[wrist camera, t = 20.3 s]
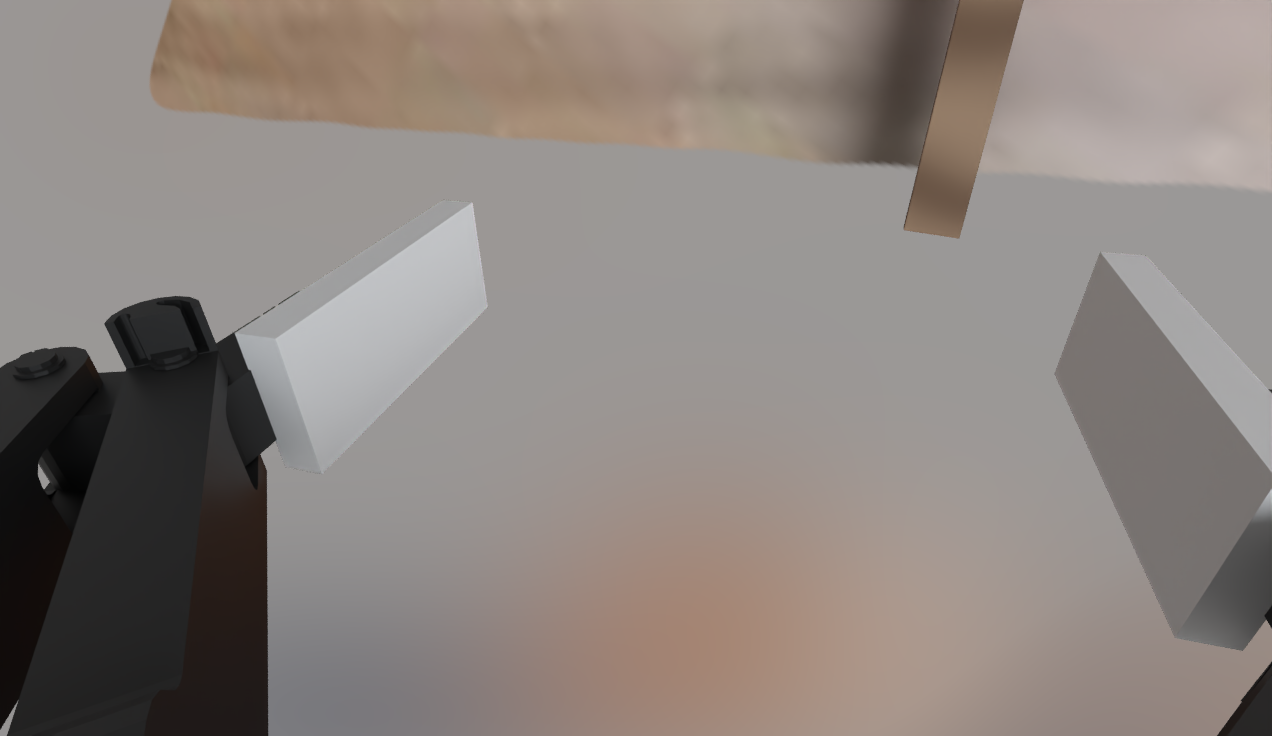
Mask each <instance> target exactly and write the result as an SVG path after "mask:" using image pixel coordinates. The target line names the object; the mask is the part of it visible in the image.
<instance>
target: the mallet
mask: <svg viewBox="0 0 1272 736" xmlns="http://www.w3.org/2000/svg"><path fill="white" fill-rule="evenodd" d="M1023 1H1024V0H959V3H958V7H957V12H956V16H955V20H954V24H953V28H952V32H951V36H950V40H949V44H948V48H947V52H946V56H945V61H944V65H943V69H942V73H941V77H940V81H939V85H938V89H937V93H936V97H935V101H934V105H933V110H932V114H931V118H930V122H929V126H928V130H927V134H926V138H925V142H924V146H923V150H922V154H921V158H920V163H919V167H918V171H917V175H916V179H915V183H914V187H913V191H912V196H911V200H910V203H909V208H908V212H907V216H906V220H905V224H904V230H907V231H913V232H920V233H927V234H933V235H940V236H946V237H953V238H959V237H960V233H961V230H962V226H963V222H964V219H965V215H966V211H967V207H968V204H969V200H970V196H971V193H972V189H973V185H974V182H975V178H976V174H977V171H978V167H979V163H980V160H981V156H982V152H983V149H984V145H985V141H986V137H987V134H988V130H989V126H990V123H991V119H992V115H993V112H994V108H995V104H996V100H997V97H998V93H999V89H1000V86H1001V82H1002V78H1003V75H1004V71H1005V67H1006V64H1007V60H1008V56H1009V52H1010V49H1011V45H1012V41H1013V38H1014V34H1015V30H1016V27H1017V23H1018V19H1019V15H1020V12H1021V8H1022V4H1023Z"/></svg>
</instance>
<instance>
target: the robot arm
mask: <svg viewBox="0 0 1272 736" xmlns="http://www.w3.org/2000/svg"><path fill="white" fill-rule="evenodd" d="M487 307H488V305H487V298H486V292H485V285H484V278H483V271H482V264H481V257H480V250H479V244H478V238H477V230H476V223H475V216H474V210H473V204H472V202H463V201H451V200H442V201H441V202H439V203H437V204H436V205H434V206H433V207H431V208H429V209H428V210H426V211H425V212H423V213H422V214H420V215H419V216H417V217H415V218H414V219H412V220H411V221H409V222H408V223H406V224H405V225H403V226H401V227H400V228H398V229H397V230H395V231H394V232H392V233H390V234H389V235H387V236H386V237H384V238H383V239H381V240H379V241H378V242H376V243H375V244H373V245H372V246H370V247H369V248H367V249H365V250H364V251H362V252H361V253H359V254H358V255H356V256H354V257H353V258H352V259H350V260H348V261H347V262H345V263H344V264H342V265H340V266H339V267H337V268H336V269H334V270H332V271H331V272H329V273H328V274H326V275H325V276H323V277H322V278H320V279H318V280H317V281H315V282H314V283H312V284H311V285H309V286H308V287H306V288H304V289H303V290H301V291H299V292H296V293H295V294H293V295H292V296H290V297H289V298H287V299H285V300H284V301H282V302H281V303H279V304H278V306H276V307H273V308H271V309H270V310H268V311H267V312H265V313H264V314H263V315H262V316H259V317H257V318H256V319H254V320H252V321H251V322H250V323H248V324H246V325H245V326H243V327H242V328H240V329H238V330H237V331H235V332H234V333H232V334H231V335H229V336H227V337H226V338H224V339H223V340H221V341H219V342H218V343H216V342H215V340H214V338H213V335H212V333H211V330H210V328H209V325H208V322H207V320H206V317H205V315H204V312H203V310H202V307H201V305H200V303H199V301H198V300H196V299H193V298H191V297H181V296H173V297H164V298H157V299H153V300H149V301H144V302H140V303H137V304H135V305H132V306H129V307H127V308H124V309H122V310H121V311H119V312H117V313H115V314H114V315H112V316H111V317H110V318H109V319H108V320H107V321H106V322H105V326H106V328H107V330H108V332H109V334H110V336H111V338H112V341H113V343H114V344H115V347H116V349H117V351H118V353H119V355H120V357H121V359H122V361H123V363H124V365H125V367H126V371H125V372H108V373H98V372H97V370H96V368H95V366H94V364H93V362H92V361H91V359H90V357H89V355H88V353H87V352H86V350H84V349H81V348H77V347H59V348H53V349H47V348H44V349H40V350H36V351H35V352H33V353H32V352H29V353H26V354H23V355H21V356H20V357H19V358H18V359H16V360H14V361H12V362H9V363H7V364H5V365H4V366H2V367H1V368H0V729H1V728H2V726H3V724H4V723H5V721H6V719H7V718H8V716H9V714H10V713H11V711H12V709H13V708H14V706H15V704H16V703H17V701H18V700H19V701H18V704H17V707H16V710H15V713H14V716H13V719H12V722H11V725H10V729H9V731H8V734H7V736H268V636H267V635H268V627H267V626H268V623H267V622H268V621H267V620H268V619H267V617H268V615H267V470H266V468H265V465H264V463H263V460H262V458H261V455H260V454H261V453H262V452H263V451H264V450H265V449H266V448H268V447H269V446H270V445H271V444H272V443H273V442H274V441H276V443H277V446H278V449H279V451H280V454H281V456H282V459H283V462H284V465H285V467H286V468H291V469H297V470H302V471H307V472H313V473H317V474H323V473H324V472H325V471H326V470H327V469H328V468H329V467H330V466H331V465H332V464H333V463H334V462H335V461H336V460H337V459H338V458H339V457H340V456H341V455H342V454H343V453H344V452H345V451H346V450H347V449H348V448H349V447H350V446H351V445H352V444H353V443H354V442H355V441H356V440H357V439H358V438H359V437H360V436H361V435H362V434H363V433H364V432H365V431H366V429H368V428H369V426H371V425H372V423H373V422H375V420H376V419H377V418H378V417H380V415H381V414H382V413H383V412H384V411H385V410H386V409H387V408H388V407H389V406H390V405H391V404H392V403H393V402H394V401H395V400H396V399H397V398H398V397H399V396H400V395H401V394H402V393H403V392H404V391H405V390H406V389H407V388H408V387H409V386H410V385H411V384H412V383H413V382H414V381H415V380H416V379H417V378H418V377H419V376H420V375H421V374H422V373H423V372H424V371H425V370H426V369H427V368H428V367H429V366H430V365H431V364H432V363H433V362H434V361H435V360H436V359H437V358H438V357H439V356H440V355H441V354H442V353H443V352H444V351H445V350H446V349H447V348H448V347H449V346H450V345H451V344H452V343H453V342H454V341H455V340H456V339H457V338H458V337H459V336H460V335H461V334H462V333H463V332H464V331H465V330H466V329H467V328H468V327H469V326H470V325H471V323H473V322H474V320H475V319H477V317H479V315H481V314H482V313H483V311H484V310H485V309H486V308H487ZM1055 376H1056V378H1057V380H1058V383H1059V385H1060V387H1061V389H1062V391H1063V393H1064V396H1065V398H1066V400H1067V402H1068V405H1069V407H1070V409H1071V411H1072V413H1073V416H1074V418H1075V420H1076V422H1077V424H1078V426H1079V429H1080V431H1081V433H1082V435H1083V437H1084V440H1085V442H1086V444H1087V446H1088V448H1089V450H1090V453H1091V455H1092V457H1093V459H1094V462H1095V464H1096V466H1097V468H1098V470H1099V472H1100V475H1101V477H1102V479H1103V481H1104V483H1105V486H1106V488H1107V490H1108V492H1109V494H1110V497H1111V499H1112V501H1113V503H1114V505H1115V508H1116V510H1117V512H1118V514H1119V516H1120V519H1121V521H1122V523H1123V525H1124V527H1125V529H1126V531H1127V534H1128V536H1129V538H1130V540H1131V543H1132V545H1133V547H1134V549H1135V551H1136V554H1137V556H1138V558H1139V560H1140V562H1141V565H1142V567H1143V569H1144V571H1145V573H1146V575H1147V578H1148V580H1149V582H1150V584H1151V586H1152V589H1153V591H1154V593H1155V595H1156V597H1157V600H1158V602H1159V604H1160V606H1161V608H1162V611H1163V613H1164V615H1165V617H1166V619H1167V622H1168V624H1169V626H1170V628H1171V630H1172V632H1173V635H1174V636H1175V638H1179V639H1184V640H1189V641H1194V642H1199V643H1205V644H1210V645H1215V646H1220V647H1225V648H1231V649H1236V650H1242V651H1243V650H1244V648H1245V647H1246V646H1247V645H1248V643H1249V642H1250V641H1251V639H1252V638H1253V636H1254V635H1255V634H1256V632H1257V631H1258V630H1259V628H1260V627H1261V626H1262V624H1263V623H1264V622H1265V620H1267V621H1268V623H1269V625H1270V626H1271V628H1272V390H1269V389H1267V388H1266V386H1265V385H1264V384H1263V383H1262V382H1261V381H1260V380H1259V379H1258V378H1257V377H1256V376H1255V374H1254V373H1253V372H1252V371H1251V370H1250V369H1249V368H1248V367H1247V366H1246V365H1245V363H1244V362H1243V361H1242V360H1241V359H1240V358H1239V357H1238V356H1237V355H1236V354H1235V353H1234V352H1233V350H1232V349H1231V348H1230V347H1229V346H1228V345H1227V344H1226V343H1225V342H1224V340H1223V339H1222V338H1221V337H1220V336H1219V335H1218V334H1217V333H1216V332H1215V331H1214V329H1213V328H1212V327H1211V326H1210V325H1209V324H1208V323H1207V322H1206V321H1205V320H1204V319H1203V318H1202V317H1201V315H1200V314H1199V313H1198V312H1197V311H1196V310H1195V309H1194V308H1193V307H1192V305H1191V304H1190V303H1189V302H1188V301H1187V300H1186V299H1185V298H1184V297H1183V296H1182V294H1181V293H1180V292H1179V291H1178V290H1177V289H1176V288H1175V287H1174V286H1173V285H1172V284H1171V283H1170V281H1169V280H1168V279H1167V278H1166V277H1165V276H1164V275H1163V274H1162V273H1161V272H1160V270H1159V269H1158V268H1157V267H1156V266H1155V265H1154V264H1153V263H1152V262H1151V261H1150V259H1149V258H1148V257H1147V256H1146V255H1145V256H1144V255H1132V254H1120V253H1108V252H1100V254H1099V257H1098V259H1097V262H1096V264H1095V267H1094V270H1093V273H1092V275H1091V278H1090V280H1089V283H1088V286H1087V289H1086V291H1085V294H1084V296H1083V299H1082V302H1081V304H1080V307H1079V310H1078V312H1077V315H1076V318H1075V320H1074V323H1073V326H1072V328H1071V331H1070V334H1069V336H1068V339H1067V342H1066V344H1065V347H1064V350H1063V352H1062V355H1061V358H1060V360H1059V363H1058V366H1057V368H1056V371H1055ZM38 464H39V465H40V467H41V468H42V470H43V472H44V473H45V475H46V476H47V478H48V480H49V481H50V483H49V484H48V486H47V487H46V488H45V489H43V488H42V486H41V483H40V480H39V478H38ZM1241 701H1242V702H1241V704H1240V705H1239V707H1238V708H1237V709H1236V711H1235V712H1234V713H1233V715H1232V716H1231V717H1230V719H1229V720H1228V721H1227V723H1226V724H1225V726H1224V727H1223V728H1222V730H1221V731H1220V732H1219V734H1218V735H1217V736H1272V662H1271V664H1270V665H1269V666H1268V667H1267V668H1266V670H1265V671H1264V672H1263V673H1262V675H1261V676H1260V677H1259V679H1258V680H1257V681H1256V682H1255V684H1254V685H1253V686H1252V687H1251V689H1250V690H1249V691H1248V692H1247V694H1246V695H1245V696H1244V698H1243V699H1242V700H1241Z"/></svg>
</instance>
